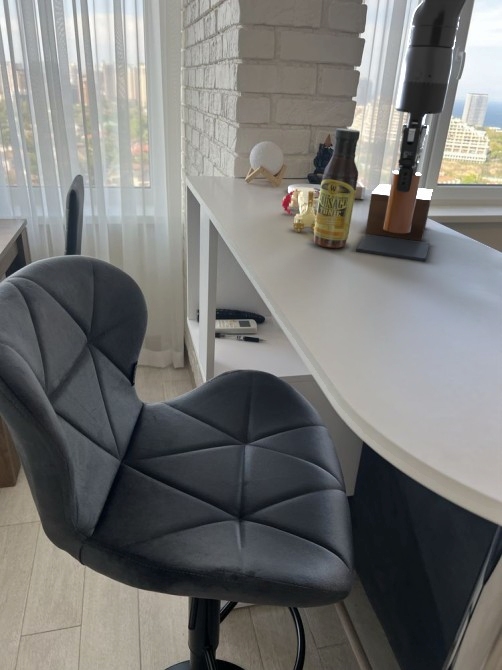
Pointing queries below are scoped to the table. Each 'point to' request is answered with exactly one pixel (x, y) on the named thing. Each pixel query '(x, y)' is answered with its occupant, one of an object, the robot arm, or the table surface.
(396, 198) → the spice bottle
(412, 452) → the table surface
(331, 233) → the sauce bottle
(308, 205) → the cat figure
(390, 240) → the mat
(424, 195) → the brown open box
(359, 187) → the record player
